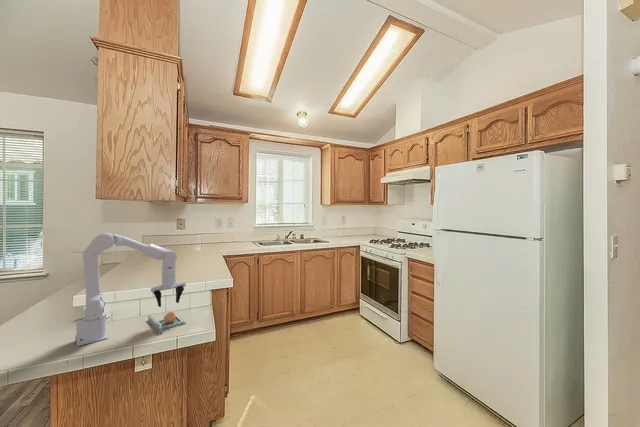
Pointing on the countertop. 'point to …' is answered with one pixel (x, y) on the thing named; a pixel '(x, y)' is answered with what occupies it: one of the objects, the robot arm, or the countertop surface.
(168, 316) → the ball
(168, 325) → the pad
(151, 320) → the acrylic wall
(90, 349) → the countertop surface
